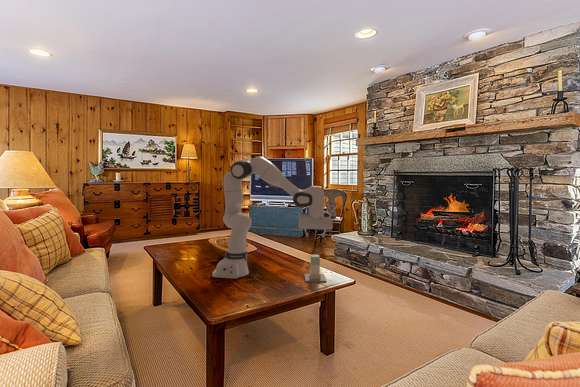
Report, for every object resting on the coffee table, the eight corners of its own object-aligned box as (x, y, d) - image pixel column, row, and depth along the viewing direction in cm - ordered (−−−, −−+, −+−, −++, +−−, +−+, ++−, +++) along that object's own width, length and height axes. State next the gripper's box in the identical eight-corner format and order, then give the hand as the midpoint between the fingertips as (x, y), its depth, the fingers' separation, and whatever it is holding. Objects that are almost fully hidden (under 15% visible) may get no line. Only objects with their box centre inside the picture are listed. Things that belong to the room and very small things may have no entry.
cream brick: (311, 273, 182) (311, 265, 181) (310, 270, 187) (310, 262, 186) (319, 273, 182) (319, 265, 181) (318, 270, 187) (318, 262, 186)
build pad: (305, 282, 179) (305, 275, 178) (304, 275, 191) (304, 269, 190) (326, 282, 179) (326, 275, 178) (323, 275, 191) (323, 269, 190)
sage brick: (311, 265, 182) (311, 256, 181) (310, 262, 187) (310, 254, 186) (319, 265, 182) (319, 256, 181) (318, 262, 187) (318, 254, 186)
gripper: (298, 213, 179) (297, 237, 179) (333, 214, 179) (332, 238, 180) (298, 212, 185) (297, 235, 186) (332, 213, 185) (331, 235, 186)
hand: (315, 236), depth 183 cm, fingers open, 8 cm apart
